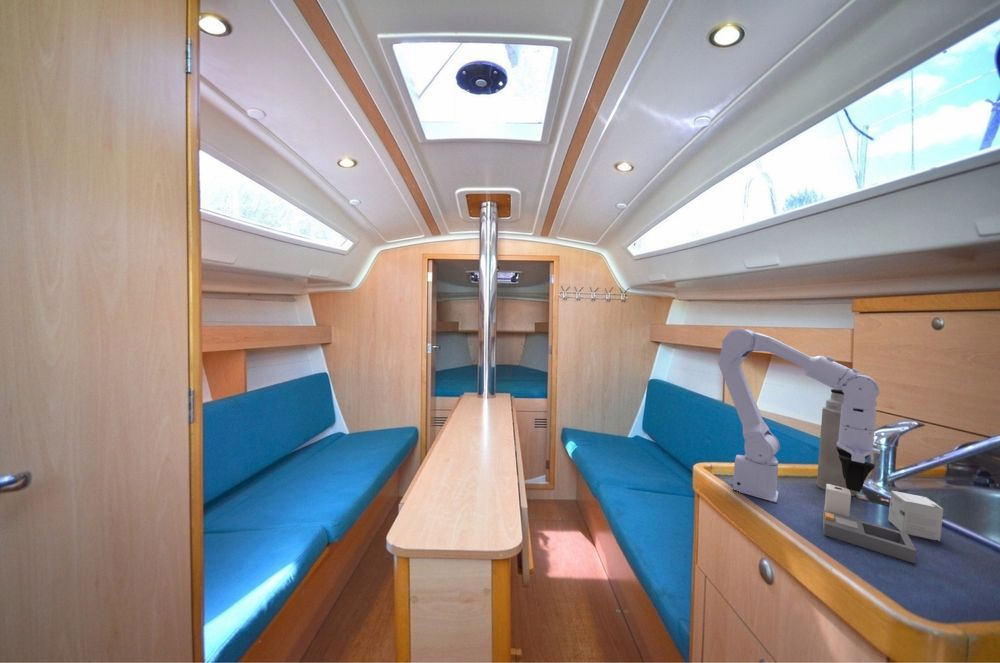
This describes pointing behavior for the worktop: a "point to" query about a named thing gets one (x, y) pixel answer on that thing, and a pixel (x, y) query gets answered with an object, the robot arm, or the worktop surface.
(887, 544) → the sliding tray box
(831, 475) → the thermos bottle
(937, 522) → the skincare box
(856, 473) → the robot arm
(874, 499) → the smartphone
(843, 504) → the light grey rectangular block
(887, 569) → the worktop surface
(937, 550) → the worktop surface
